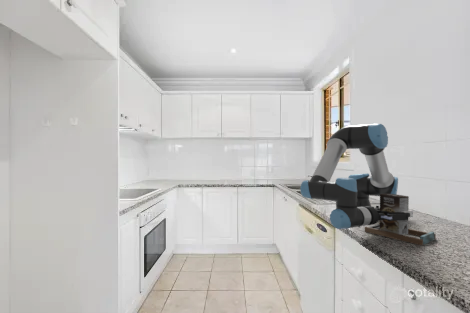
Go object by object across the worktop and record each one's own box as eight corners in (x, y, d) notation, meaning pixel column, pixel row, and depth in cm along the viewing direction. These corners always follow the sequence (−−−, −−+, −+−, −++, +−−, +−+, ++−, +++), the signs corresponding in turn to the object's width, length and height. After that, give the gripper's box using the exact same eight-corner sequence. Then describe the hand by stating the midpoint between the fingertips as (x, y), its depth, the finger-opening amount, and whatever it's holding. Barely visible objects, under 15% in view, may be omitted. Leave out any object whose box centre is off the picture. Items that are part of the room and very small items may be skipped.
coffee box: (378, 230, 114) (378, 193, 114) (388, 228, 117) (388, 192, 117) (399, 235, 106) (398, 196, 106) (409, 233, 108) (409, 195, 108)
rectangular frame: (380, 226, 123) (380, 220, 123) (435, 239, 104) (435, 231, 104) (364, 231, 115) (364, 224, 115) (421, 245, 97) (421, 237, 97)
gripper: (343, 219, 114) (378, 214, 123) (389, 232, 94) (427, 225, 103) (343, 202, 114) (378, 199, 123) (389, 211, 94) (427, 207, 103)
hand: (400, 211), depth 113 cm, fingers closed on coffee box, 9 cm apart
